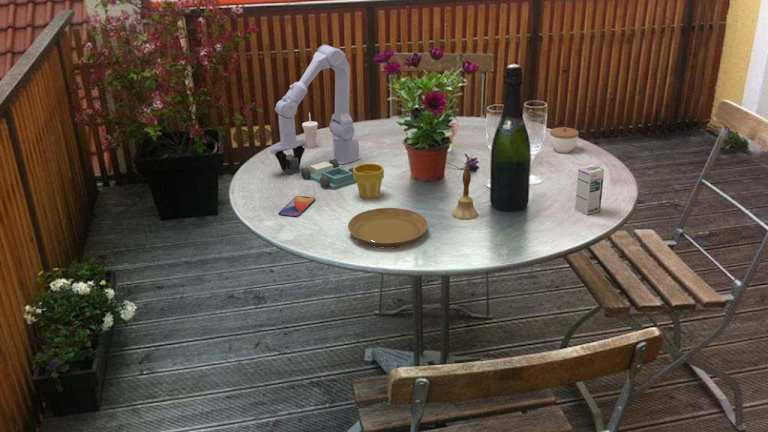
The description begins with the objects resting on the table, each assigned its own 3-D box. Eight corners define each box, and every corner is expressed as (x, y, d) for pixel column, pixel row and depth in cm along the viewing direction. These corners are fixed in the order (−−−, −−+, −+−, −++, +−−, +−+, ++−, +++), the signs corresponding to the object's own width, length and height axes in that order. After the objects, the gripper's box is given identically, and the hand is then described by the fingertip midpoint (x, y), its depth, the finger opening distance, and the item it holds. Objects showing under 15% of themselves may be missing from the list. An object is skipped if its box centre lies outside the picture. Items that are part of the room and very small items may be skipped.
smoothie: (320, 143, 297) (318, 110, 291) (317, 149, 291) (315, 115, 285) (305, 143, 298) (302, 110, 292) (302, 148, 292) (299, 115, 286)
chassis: (329, 166, 273) (329, 156, 271) (362, 180, 259) (361, 170, 257) (298, 175, 265) (297, 165, 263) (329, 191, 251) (329, 180, 249)
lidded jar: (579, 154, 278) (582, 131, 274) (551, 155, 278) (553, 132, 274) (573, 145, 288) (575, 123, 284) (546, 146, 288) (548, 123, 284)
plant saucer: (422, 254, 207) (422, 244, 206) (340, 249, 211) (339, 239, 210) (431, 219, 229) (431, 209, 227) (357, 215, 233) (357, 205, 231)
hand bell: (473, 208, 235) (475, 161, 228) (481, 218, 228) (483, 171, 221) (449, 210, 234) (449, 164, 227) (455, 220, 226) (456, 173, 220)
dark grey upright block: (291, 169, 271) (290, 154, 269) (299, 172, 268) (298, 157, 265) (282, 171, 269) (281, 156, 267) (290, 175, 266) (288, 160, 263)
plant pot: (347, 195, 247) (346, 169, 243) (368, 187, 253) (367, 160, 249) (369, 203, 240) (368, 176, 236) (390, 194, 247) (390, 167, 243)
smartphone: (277, 216, 234) (277, 213, 233) (296, 198, 247) (296, 195, 246) (298, 219, 232) (298, 216, 231) (316, 200, 244) (316, 197, 244)
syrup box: (586, 215, 228) (591, 172, 222) (574, 208, 232) (578, 166, 226) (600, 211, 230) (605, 169, 224) (587, 205, 235) (592, 163, 229)
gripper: (298, 126, 269) (301, 160, 275) (264, 134, 261) (268, 169, 267) (309, 130, 264) (311, 165, 270) (275, 139, 256) (278, 175, 262)
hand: (290, 167), depth 268 cm, fingers open, 5 cm apart
